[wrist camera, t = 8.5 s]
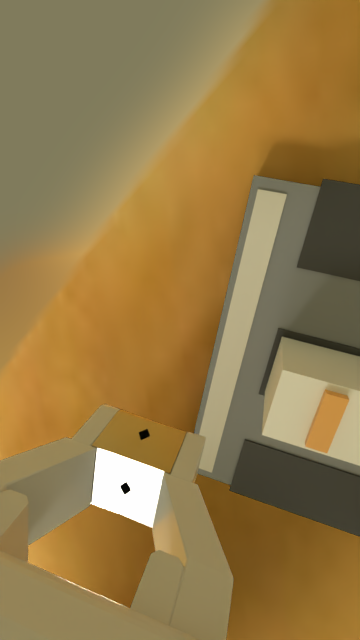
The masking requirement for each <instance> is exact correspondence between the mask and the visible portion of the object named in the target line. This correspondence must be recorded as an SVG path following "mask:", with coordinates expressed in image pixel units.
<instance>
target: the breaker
mask: <svg viewBox="0 0 360 640" xmlns="http://www.w3.org/2000/svg"><path fill="white" fill-rule="evenodd" d="M262 435H264V436H267V437H270V438H273V439H276V440H279V441H283V442H286V443H289V444H292V445H295V446H298V447H302V448H305V449H308V450H311V451H314V452H317V453H321V454H324V455H327V456H330V457H333V458H336V459H340V460H343V461H346V462H349V463H352V464H355V465H358V466H360V357H359V356H355V355H351V354H348V353H344V352H340V351H336V350H332V349H328V348H324V347H321V346H317V345H313V344H309V343H305V342H301V341H297V340H294V339H290V338H286V337H282V338H281V341H280V344H279V348H278V351H277V354H276V357H275V360H274V364H273V367H272V370H271V373H270V377H269V380H268V383H267V386H266V390H265V398H264V411H263V425H262Z"/></svg>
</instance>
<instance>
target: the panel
mask: <svg viewBox="0 0 360 640" xmlns="http://www.w3.org/2000/svg"><path fill="white" fill-rule="evenodd" d="M282 337H286V338H290V339H294V340H297V341H301V342H305V343H309V344H313V345H317V346H321V347H324V348H328V349H332V350H336V351H340V352H344V353H348V354H351V355H355V356H359V357H360V185H358V184H352V183H346V182H340V181H334V180H328V179H323V181H322V184H321V187H319V186H313V185H307V184H302V183H296V182H290V181H284V180H279V179H273V178H267V177H261V176H256V175H254V177H253V181H252V186H251V190H250V194H249V198H248V203H247V207H246V211H245V216H244V220H243V224H242V229H241V233H240V237H239V241H238V246H237V250H236V254H235V259H234V263H233V267H232V272H231V276H230V280H229V284H228V289H227V293H226V297H225V302H224V306H223V310H222V314H221V319H220V323H219V327H218V332H217V336H216V340H215V345H214V349H213V353H212V357H211V362H210V366H209V370H208V375H207V379H206V383H205V387H204V392H203V396H202V400H201V405H200V409H199V413H198V418H197V422H196V426H195V430H194V434H198V435H201V436H204V437H206V441H205V445H204V449H203V453H202V457H201V461H200V465H199V469H198V472H197V474H200V475H203V476H206V477H209V478H211V479H214V480H217V481H220V482H223V483H226V484H229V485H231V486H230V490H229V491H232V492H235V493H238V494H241V495H243V496H246V497H249V498H252V499H255V500H258V501H260V502H263V503H266V504H269V505H272V506H275V507H277V508H280V509H283V510H286V511H289V512H292V513H294V514H297V515H300V516H303V517H306V518H309V519H311V520H314V521H317V522H320V523H323V524H326V525H328V526H331V527H334V528H337V529H340V530H343V531H345V532H348V533H351V534H354V535H357V536H360V466H358V465H355V464H352V463H349V462H346V461H343V460H340V459H336V458H333V457H330V456H327V455H324V454H321V453H317V452H314V451H311V450H308V449H305V448H302V447H298V446H295V445H292V444H289V443H286V442H283V441H279V440H276V439H273V438H270V437H267V436H264V435H262V425H263V411H264V398H265V390H266V386H267V383H268V380H269V377H270V373H271V370H272V367H273V364H274V360H275V357H276V354H277V351H278V348H279V344H280V341H281V338H282Z"/></svg>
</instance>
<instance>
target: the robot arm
mask: <svg viewBox="0 0 360 640" xmlns="http://www.w3.org/2000/svg"><path fill="white" fill-rule="evenodd" d="M205 441H206V437H204V436H201V435H198V434H194V433H191V432H186V431H183V430H180V429H177V428H174V427H171V426H168V425H165V424H162V423H159V422H155V421H153V420H150V419H147V418H144V417H142V416H139V415H136V414H133V413H131V412H128V411H125V410H122V409H121V410H120V409H119V408H116V407H113V406H110V405H107V404H103V405H101V406H100V407H99V408H98V409H97V410H96V411H95V413H94V414H93V415H92V416H91V417H90V418H89V419H88V421H87V422H86V423H85V424H84V425H83V426H82V427H81V428H80V430H79V431H78V432H77V433H76V434H75V435H74V436H73V438H72V439H70V438H67V437H66V438H63V439H60V440H57V441H54V442H52V443H49V444H46V445H43V446H40V447H37V448H34V449H32V450H29V451H26V452H23V453H20V454H17V455H15V456H12V457H9V458H6V459H3V460H0V640H226V637H227V629H228V621H229V613H230V605H231V598H232V590H233V582H234V578H233V575H232V572H231V570H230V567H229V565H228V562H227V559H226V557H225V554H224V552H223V549H222V546H221V544H220V541H219V539H218V536H217V533H216V531H215V528H214V526H213V523H212V520H211V518H210V515H209V513H208V510H207V507H206V505H205V502H204V500H203V497H202V494H201V492H200V489H199V487H198V485H197V484H195V480H196V476H197V472H198V469H199V465H200V461H201V457H202V453H203V449H204V445H205ZM90 504H93V505H96V506H99V507H102V508H104V509H107V510H110V511H113V512H115V513H118V514H121V515H123V516H126V517H128V518H130V519H133V520H135V521H137V522H140V523H142V524H144V525H147V526H149V527H151V528H152V533H153V539H154V545H155V552H153V553H151V555H150V558H149V560H148V563H147V566H146V568H145V571H144V573H143V576H142V578H141V581H140V584H139V586H138V589H137V591H136V594H135V597H134V599H133V602H132V604H131V607H130V608H128V607H126V606H124V605H122V604H119V603H117V602H115V601H113V600H111V599H108V598H106V597H104V596H102V595H99V594H97V593H95V592H93V591H90V590H88V589H86V588H84V587H82V586H79V585H77V584H75V583H73V582H70V581H68V580H66V579H64V578H61V577H59V576H57V575H55V574H53V573H50V572H48V571H46V570H44V569H41V568H39V567H37V566H35V565H32V564H30V563H28V545H30V544H31V543H33V542H35V541H36V540H38V539H39V538H41V537H42V536H44V535H45V534H47V533H48V532H50V531H52V530H53V529H55V528H56V527H58V526H59V525H61V524H62V523H64V522H66V521H67V520H69V519H70V518H72V517H73V516H75V515H76V514H78V513H80V512H81V511H83V510H84V509H86V508H87V507H89V506H90Z"/></svg>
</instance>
